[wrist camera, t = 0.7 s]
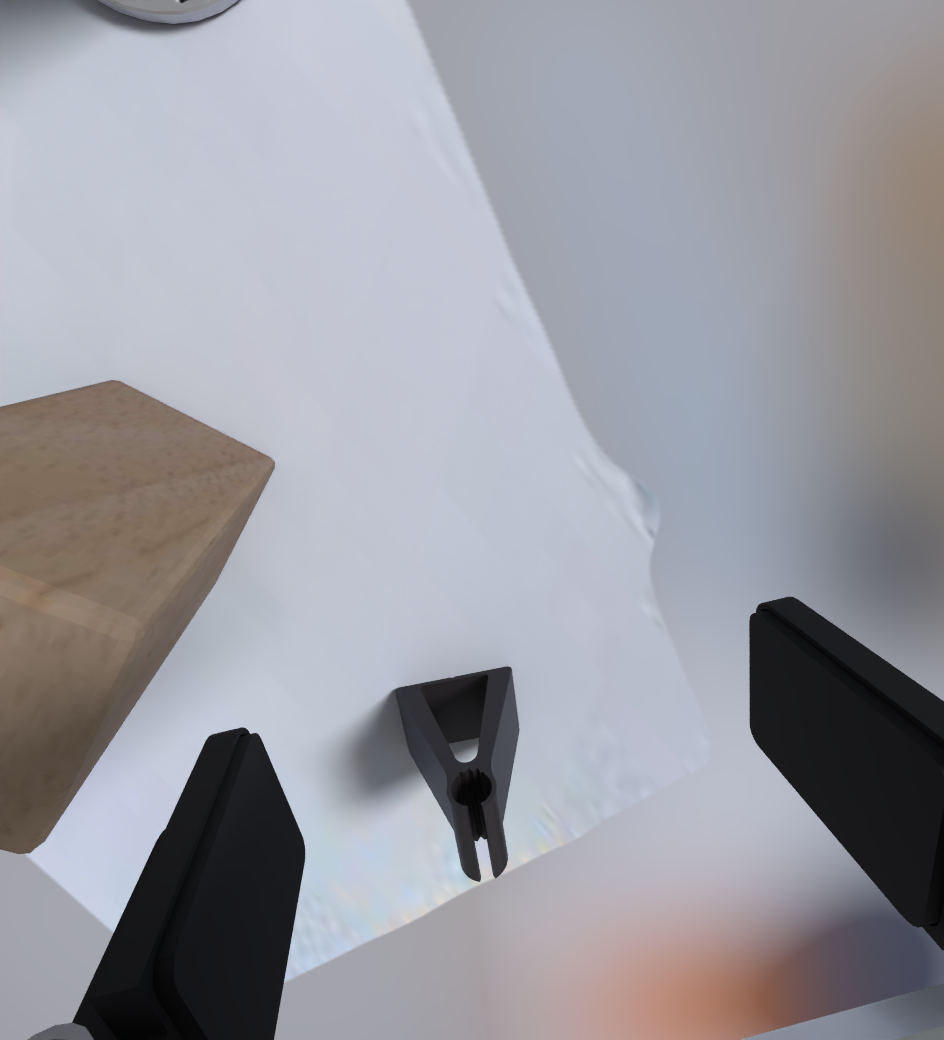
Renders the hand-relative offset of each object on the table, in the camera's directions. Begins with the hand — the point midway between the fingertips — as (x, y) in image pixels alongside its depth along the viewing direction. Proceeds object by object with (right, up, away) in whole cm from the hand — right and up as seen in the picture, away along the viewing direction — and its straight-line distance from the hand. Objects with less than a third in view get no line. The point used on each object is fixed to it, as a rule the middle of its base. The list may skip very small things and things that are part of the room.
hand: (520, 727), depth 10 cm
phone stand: (-2, -11, +33) cm, 35 cm away
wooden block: (-20, +6, +24) cm, 32 cm away
